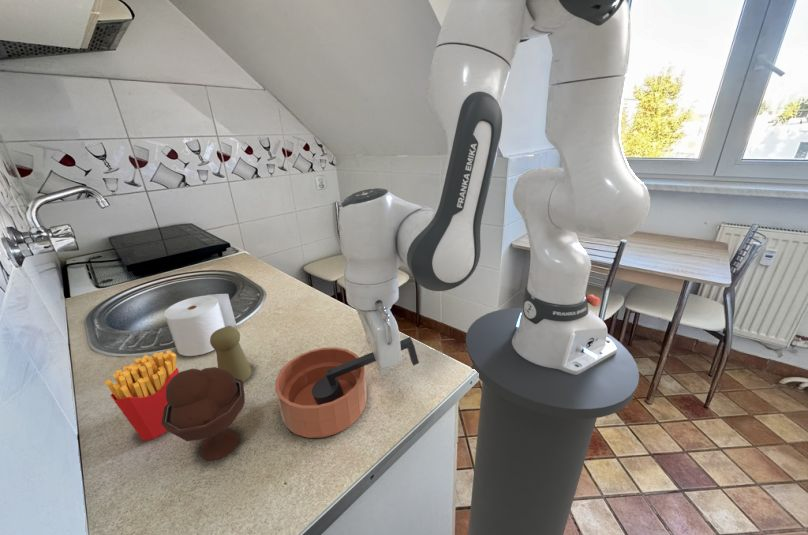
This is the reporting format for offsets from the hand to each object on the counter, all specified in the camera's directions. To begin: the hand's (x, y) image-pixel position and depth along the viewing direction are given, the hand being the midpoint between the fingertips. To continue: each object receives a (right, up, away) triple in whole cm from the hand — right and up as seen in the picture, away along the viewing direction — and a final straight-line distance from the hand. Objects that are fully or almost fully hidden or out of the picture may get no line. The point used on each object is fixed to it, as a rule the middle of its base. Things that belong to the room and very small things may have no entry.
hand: (377, 355), depth 59 cm
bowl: (-10, -9, 0) cm, 13 cm away
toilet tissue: (-44, -2, +19) cm, 48 cm away
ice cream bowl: (-25, -13, -7) cm, 29 cm away
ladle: (-2, -5, +1) cm, 6 cm away
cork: (-30, -6, +8) cm, 32 cm away
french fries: (-37, -11, -3) cm, 39 cm away
